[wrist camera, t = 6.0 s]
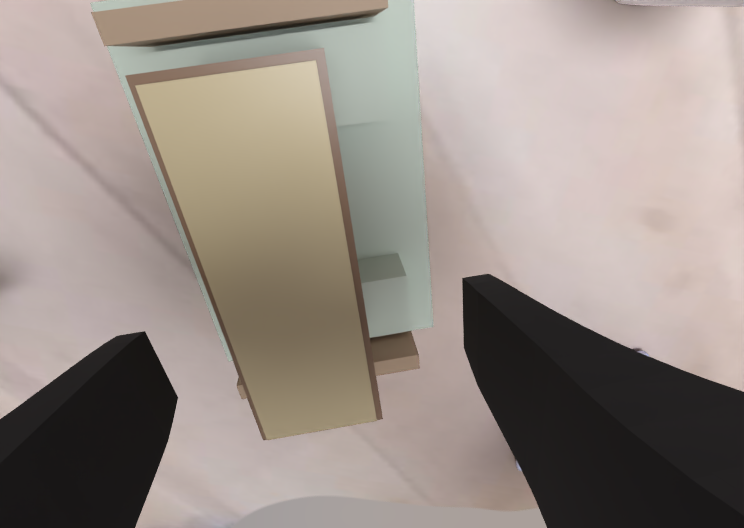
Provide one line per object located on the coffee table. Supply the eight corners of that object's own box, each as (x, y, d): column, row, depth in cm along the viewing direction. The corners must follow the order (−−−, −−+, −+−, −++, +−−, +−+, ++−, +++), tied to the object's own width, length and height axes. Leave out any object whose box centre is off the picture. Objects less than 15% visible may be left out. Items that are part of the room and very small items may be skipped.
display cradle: (429, 318, 22) (452, 374, 18) (231, 351, 22) (212, 416, 18) (407, -36, 15) (437, -66, 11) (101, 5, 14) (19, -12, 10)
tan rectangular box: (366, 321, 18) (383, 423, 13) (278, 336, 18) (262, 445, 13) (323, 48, 13) (324, 47, 8) (198, 65, 13) (120, 76, 8)
